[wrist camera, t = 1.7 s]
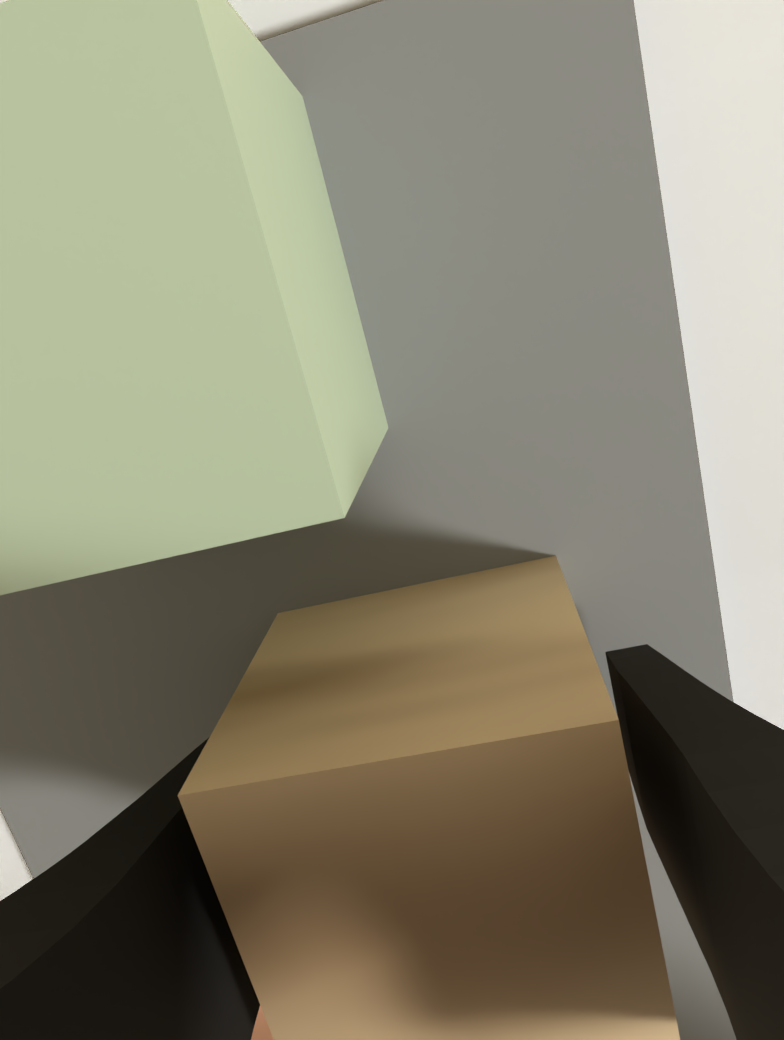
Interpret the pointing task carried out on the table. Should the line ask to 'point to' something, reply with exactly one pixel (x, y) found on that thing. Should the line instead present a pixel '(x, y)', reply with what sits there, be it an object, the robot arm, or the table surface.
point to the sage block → (165, 294)
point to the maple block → (433, 822)
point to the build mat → (429, 413)
